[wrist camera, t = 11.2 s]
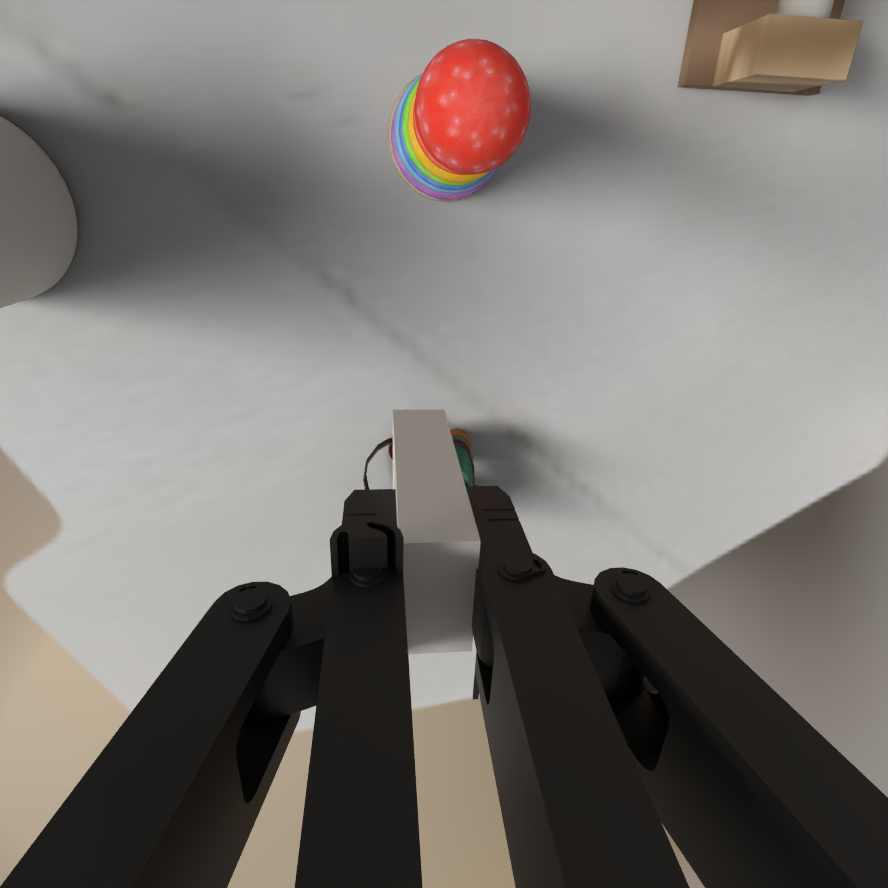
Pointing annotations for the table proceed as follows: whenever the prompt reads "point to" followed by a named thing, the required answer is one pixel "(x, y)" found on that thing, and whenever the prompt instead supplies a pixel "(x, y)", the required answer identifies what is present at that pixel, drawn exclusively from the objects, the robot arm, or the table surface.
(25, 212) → the cylinder vase
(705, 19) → the pipe stand
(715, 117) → the table surface
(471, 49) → the stacking toy
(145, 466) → the table surface
